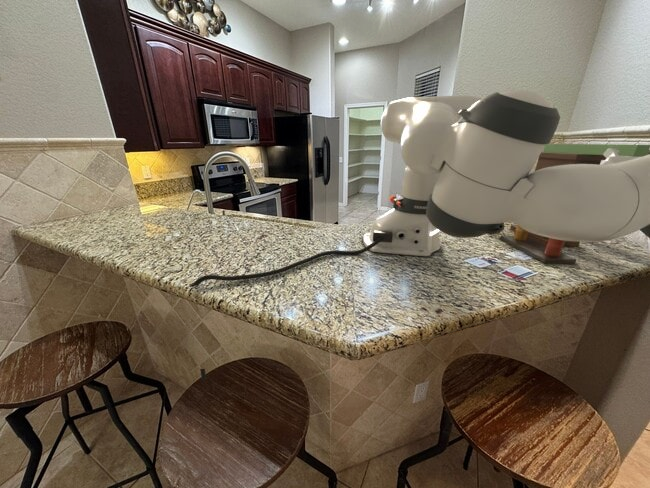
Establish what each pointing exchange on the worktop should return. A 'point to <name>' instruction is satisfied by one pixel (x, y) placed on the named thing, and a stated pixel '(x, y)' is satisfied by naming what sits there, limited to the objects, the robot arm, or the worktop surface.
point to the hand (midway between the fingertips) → (628, 151)
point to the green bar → (598, 149)
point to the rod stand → (538, 247)
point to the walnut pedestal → (555, 160)
